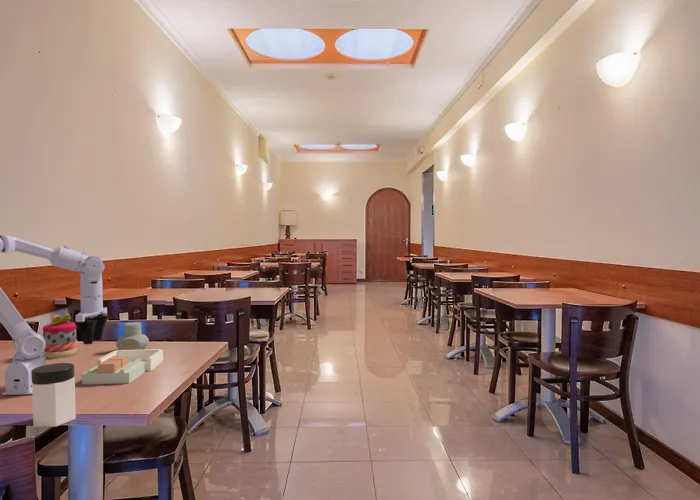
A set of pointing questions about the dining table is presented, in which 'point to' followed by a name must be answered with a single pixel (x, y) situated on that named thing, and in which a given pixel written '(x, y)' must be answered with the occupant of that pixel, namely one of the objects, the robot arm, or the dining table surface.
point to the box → (139, 356)
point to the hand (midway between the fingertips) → (92, 341)
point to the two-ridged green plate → (115, 374)
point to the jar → (53, 394)
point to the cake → (60, 338)
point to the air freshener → (132, 338)
